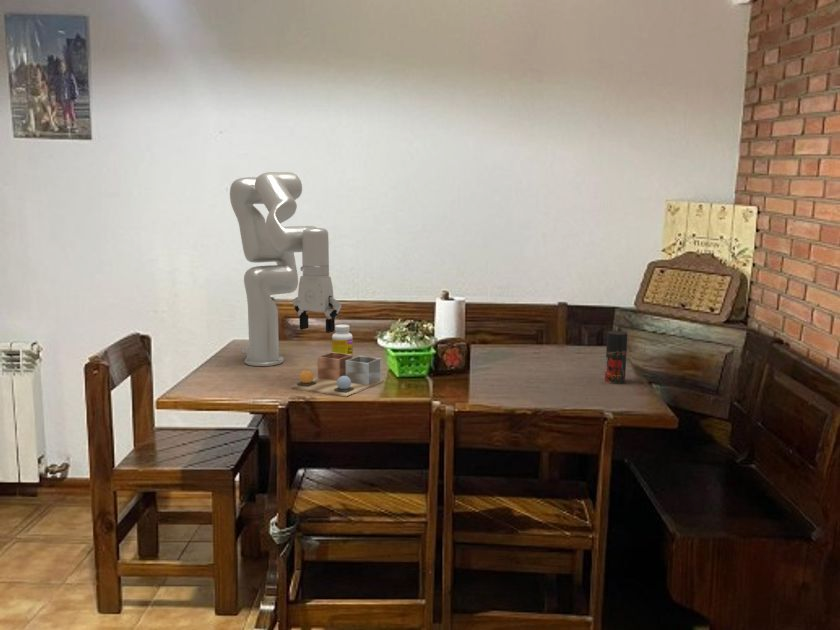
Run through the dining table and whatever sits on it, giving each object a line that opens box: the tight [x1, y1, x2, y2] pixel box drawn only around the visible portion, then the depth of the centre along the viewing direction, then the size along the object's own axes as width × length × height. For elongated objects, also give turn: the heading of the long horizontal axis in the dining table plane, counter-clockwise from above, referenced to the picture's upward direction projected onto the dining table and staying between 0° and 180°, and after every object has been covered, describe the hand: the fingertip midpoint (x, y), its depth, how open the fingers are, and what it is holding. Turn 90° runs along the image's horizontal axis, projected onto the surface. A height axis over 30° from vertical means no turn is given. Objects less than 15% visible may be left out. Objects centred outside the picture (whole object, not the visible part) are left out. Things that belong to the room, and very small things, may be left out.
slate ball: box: [337, 376, 351, 390], centre depth 231 cm, size 4×4×4 cm
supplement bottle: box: [331, 324, 354, 355], centre depth 263 cm, size 7×7×13 cm
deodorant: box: [604, 330, 628, 385], centre depth 245 cm, size 6×6×15 cm
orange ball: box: [299, 369, 314, 384], centre depth 237 cm, size 4×4×4 cm
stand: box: [290, 351, 384, 396], centre depth 238 cm, size 19×20×7 cm
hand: (317, 330), depth 235 cm, fingers open, 9 cm apart
